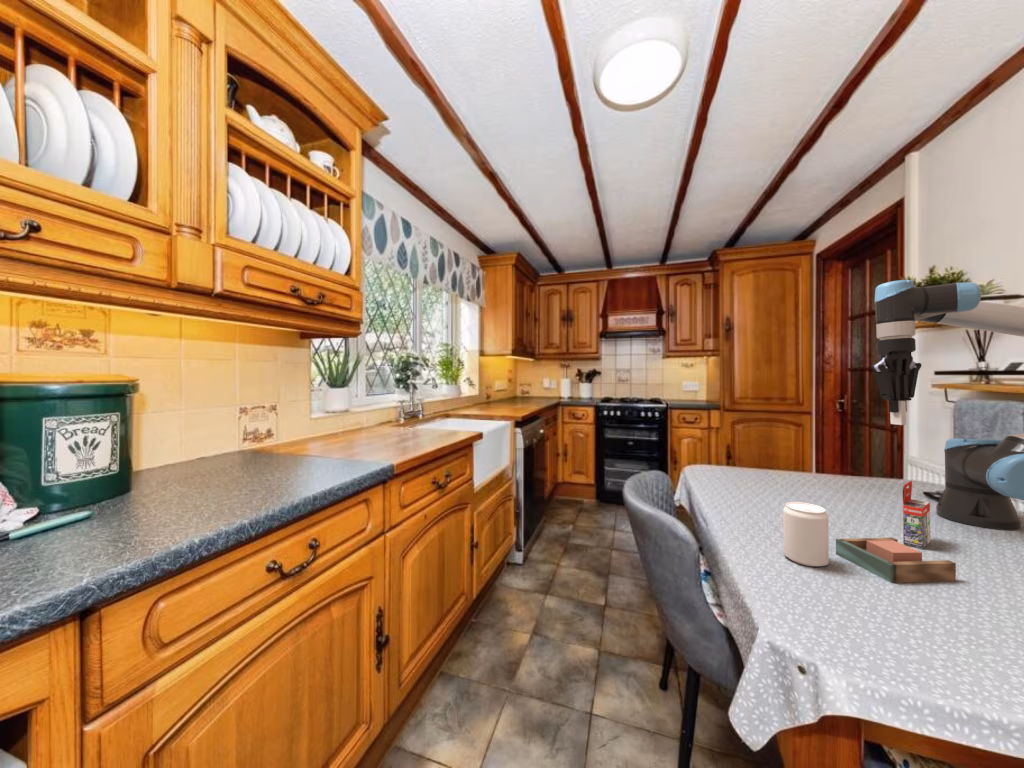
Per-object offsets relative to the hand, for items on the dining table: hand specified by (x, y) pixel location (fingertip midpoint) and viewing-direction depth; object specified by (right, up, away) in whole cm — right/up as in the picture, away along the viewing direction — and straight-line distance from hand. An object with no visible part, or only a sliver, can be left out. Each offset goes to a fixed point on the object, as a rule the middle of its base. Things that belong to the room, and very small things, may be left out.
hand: (898, 424), depth 104 cm
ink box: (-6, -28, -11) cm, 31 cm away
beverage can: (-40, -29, -19) cm, 53 cm away
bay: (-24, -29, -22) cm, 43 cm away
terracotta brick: (-23, -29, -22) cm, 43 cm away
